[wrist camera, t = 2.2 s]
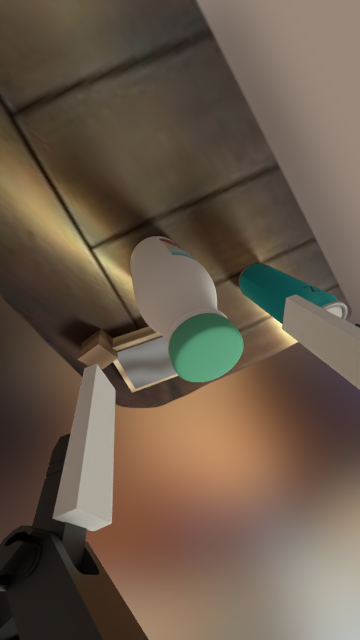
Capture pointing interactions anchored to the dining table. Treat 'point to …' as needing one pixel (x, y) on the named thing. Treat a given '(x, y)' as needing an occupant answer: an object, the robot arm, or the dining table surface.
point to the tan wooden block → (98, 350)
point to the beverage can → (283, 291)
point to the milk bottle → (183, 310)
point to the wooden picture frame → (143, 358)
